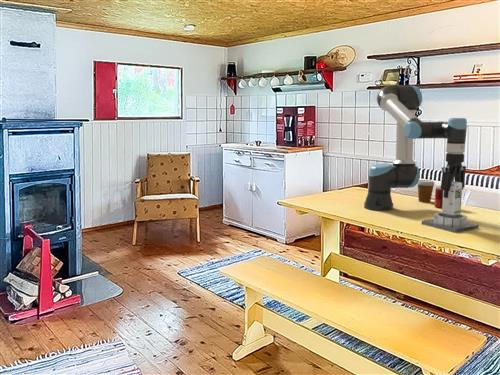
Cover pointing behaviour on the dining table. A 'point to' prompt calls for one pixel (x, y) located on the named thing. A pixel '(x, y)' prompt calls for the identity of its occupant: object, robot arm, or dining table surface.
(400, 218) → the dining table surface
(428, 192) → the disposable coffee cup
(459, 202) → the syrup box
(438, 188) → the canned food
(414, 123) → the robot arm
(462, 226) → the ring plate
